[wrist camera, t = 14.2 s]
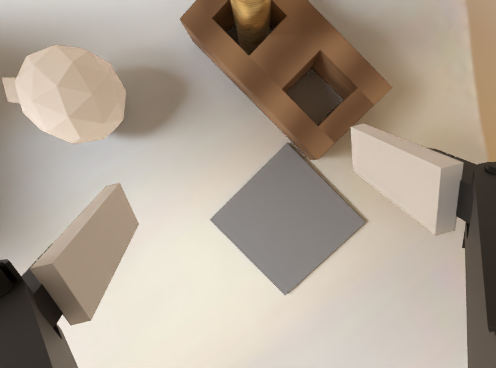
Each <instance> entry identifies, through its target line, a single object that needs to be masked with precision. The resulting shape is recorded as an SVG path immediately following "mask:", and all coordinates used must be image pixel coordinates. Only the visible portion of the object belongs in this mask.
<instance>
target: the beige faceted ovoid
mask: <svg viewBox="0 0 496 368" xmlns="http://www.w3.org/2000/svg"><path fill="white" fill-rule="evenodd" d="M2 82H3V85H4V89H5V93H6V97H7V101H8V102H12V103H20V104H21V108H22V111H23V113H24V114H25V115H26V116H27V117H28V118H29V119H30V120H31V121H32V122H33V123H34V124H35V125H36V126H37V127H38V128H39V129H40V130H41V131H44V132H46V133H48V134H51V135H53V136H55V137H58V138H60V139H62V140H65V141H67V142H69V143H72V144H75V143H82V142H88V141H95V140H102V139H104V138H106V137H107V136H108V135H109V134H110V133H111V132H113V131H114V130H115V129H116V128H117V127H118V125H119V124H120V123H121V122H122V121H123V119H124V110H125V100H126V90H125V88H124V86H123V84H122V83H121V81H120V79H119V78H118V76H117V74H116V73H115V71H114V69H113V67H112V66H111V64H110V63H108V62H106V61H104V60H103V59H101V58H99V57H97V56H96V55H94V54H92V53H90V52H89V51H87V50H84V49H82V48H77V47H69V46H60V45H53V46H50V47H48V48H45V49H43V50H40V51H38V52H35V53H32V54H30V55H27V56H26V58H25V60H24V62H23V65H22V67H21V69H20V71H19V73H18V75H17V77H12V78H2Z"/></svg>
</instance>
